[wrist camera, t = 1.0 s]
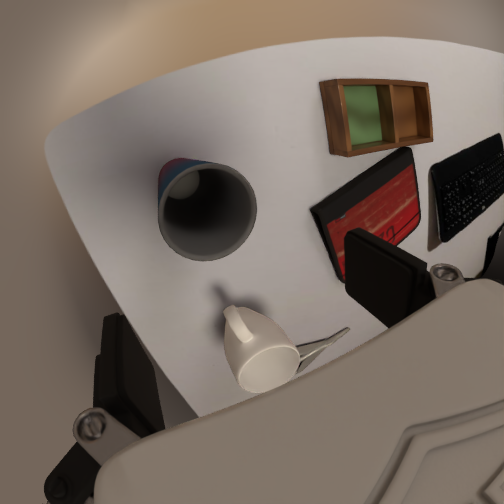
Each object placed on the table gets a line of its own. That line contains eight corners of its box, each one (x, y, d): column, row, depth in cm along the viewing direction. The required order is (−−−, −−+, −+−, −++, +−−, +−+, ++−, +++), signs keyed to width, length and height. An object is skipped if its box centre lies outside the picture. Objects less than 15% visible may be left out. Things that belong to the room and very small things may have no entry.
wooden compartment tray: (318, 81, 33) (337, 78, 29) (410, 82, 37) (428, 82, 34) (329, 153, 37) (348, 157, 34) (416, 138, 42) (433, 141, 39)
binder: (317, 213, 37) (412, 147, 39) (308, 207, 39) (402, 144, 41) (345, 291, 46) (424, 223, 48) (337, 284, 48) (415, 219, 50)
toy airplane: (350, 338, 55) (357, 345, 53) (259, 391, 52) (264, 400, 50) (347, 313, 51) (354, 319, 49) (246, 370, 48) (251, 380, 46)
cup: (204, 210, 34) (247, 262, 22) (147, 206, 32) (153, 260, 19) (213, 153, 32) (265, 170, 19) (154, 147, 29) (164, 157, 17)
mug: (273, 320, 45) (309, 368, 35) (229, 348, 44) (255, 402, 34) (239, 264, 39) (275, 311, 29) (187, 298, 38) (207, 354, 28)
